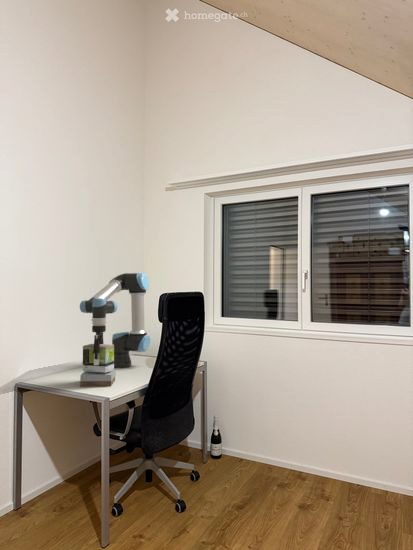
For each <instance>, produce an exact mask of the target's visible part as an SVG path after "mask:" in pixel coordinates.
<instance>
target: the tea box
mask: <svg viewBox="0 0 413 550" xmlns="http://www.w3.org/2000/svg"><path fill="white" fill-rule="evenodd" d="M93 349H94V343H89V344H86V345H83V346H82V371H83V372H84V371H89V372H104V373H106V372H109V371H111V370H115V367H114V344H112V343H109V344H108V343H106V344H105V343H104V344H100V346H99V365H94V354H93V353H92V352H93Z"/></svg>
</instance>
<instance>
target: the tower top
mask: <svg viewBox="0 0 413 550" xmlns="http://www.w3.org/2000/svg"><path fill="white" fill-rule="evenodd" d="M116 374H117V373H116V369H114V370H111V371H109V372H106V373H104V372H89V371H83V372H82V373H81V374H80V375H79V376H80V381H112V380H113V378H114V377H115V378H116ZM80 381H79V382H80Z"/></svg>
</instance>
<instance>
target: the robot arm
mask: <svg viewBox="0 0 413 550" xmlns="http://www.w3.org/2000/svg"><path fill="white" fill-rule="evenodd" d="M149 289H150V281H149V278H148V276H147V274H145V273H142V272H141V273H140V272H138V273H137V272H133V273H132V272H131V273H129V272H128V273H127V272H126V273H125V272H124V273H120V274H119V275H117V276H115V277H113V278H111V280H110V281H109V282H108V284H107V285H106V286H104V287H103V288H102V289H100V290H99V291H98V292H96V293H95V294H94V295H93V296H92V297H91V298H90V299H88V300H87V299H85V300H82V301H81V302H80V303H79V310H80V312H81V313H83V314H84V313H85V314H92V319H91V320H90V321H91V323H92V326H91V332H92V333H95V335H93V338H94V340H93V341H94V342H93V344H94V349H93V352H92V353H93V354H94V365H99V346H100V344H105V343H104V333H105V332H106V330H107V328H106V325H107V320H106V319H107V317H106V315H107V314H114V313H116V312H117V311H118V307H119V306H118V303H117V302H116V301H114V300H110V299H111V297H112V296H114V295H115V294H116V293H120V292H121V291H128V294H129V295H130V300H131V307H130V308H131V330H130V331H123V332H116V333H113V334H112V339H111V344H114V368H116V369H117V368H118V369H119V368H121V369H122V368H127V367H129V368H130V367H131V366H132V359H131V356H130V352H138V353H144V352H147V350H148V349H149V347H150V346H151V345H150V344H151V337H150V335H148V334H147V333H148V332H147V330H146V329H145V295H146V293H147V291H148V290H149Z"/></svg>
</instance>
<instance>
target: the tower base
mask: <svg viewBox="0 0 413 550" xmlns="http://www.w3.org/2000/svg"><path fill="white" fill-rule="evenodd" d="M115 381H116V376H115V377H114V378H113V380H112V381H79V387H82V388H84V387H86V388H87V387H92V388H93V387H112V386H113V384H114V383H115Z"/></svg>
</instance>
